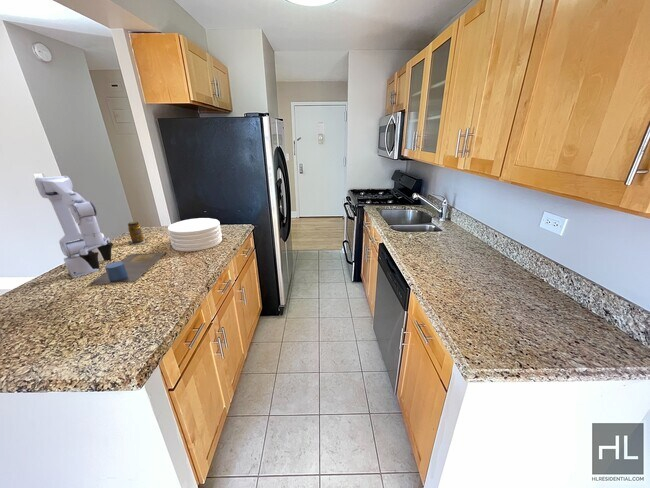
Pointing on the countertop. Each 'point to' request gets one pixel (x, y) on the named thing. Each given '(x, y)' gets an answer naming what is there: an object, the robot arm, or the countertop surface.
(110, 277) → the can
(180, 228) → the plate stack
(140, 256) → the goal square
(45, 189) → the robot arm
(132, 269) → the board
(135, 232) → the condiment
